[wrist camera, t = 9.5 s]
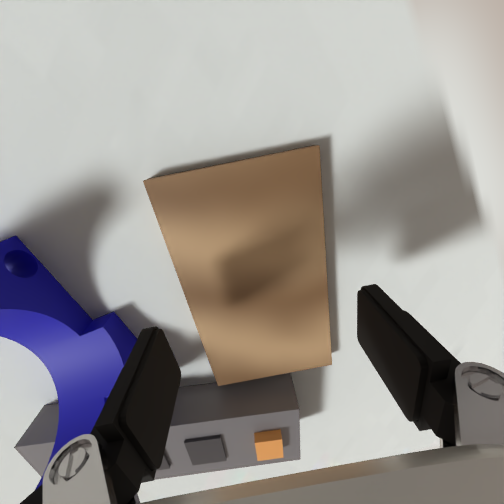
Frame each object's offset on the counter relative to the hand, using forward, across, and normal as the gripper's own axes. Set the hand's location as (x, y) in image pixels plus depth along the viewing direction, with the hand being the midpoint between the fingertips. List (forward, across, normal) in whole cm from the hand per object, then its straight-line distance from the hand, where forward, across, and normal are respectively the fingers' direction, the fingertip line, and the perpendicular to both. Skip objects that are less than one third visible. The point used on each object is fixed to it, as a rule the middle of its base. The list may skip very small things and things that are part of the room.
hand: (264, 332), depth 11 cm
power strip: (+4, +8, +10) cm, 14 cm away
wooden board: (+4, 0, 0) cm, 4 cm away
